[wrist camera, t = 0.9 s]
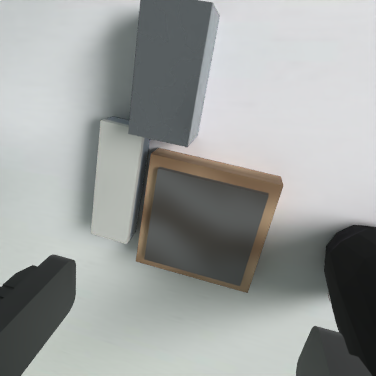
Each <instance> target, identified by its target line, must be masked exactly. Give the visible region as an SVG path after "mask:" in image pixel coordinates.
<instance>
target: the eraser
mask: <svg viewBox="0 0 376 376" xmlns="http://www.w3.org/2000/svg"><path fill="white" fill-rule="evenodd" d="M128 130H129V120H126V119H122V118H118V117H110V118H106V119H103V120H100V132H99V143H98V155H97V166H96V178H95V189H94V201H93V212H92V224H91V234H94V235H97V236H100V237H104V238H107V239H111V240H114V241H117V242H121V243H124V244H127V243H128V242H129V240H130V239H131V237H132V236H133V235H134V233H135V232H136V227H137V220H138V214H139V207H140V201H141V195H142V188H143V182H144V175H145V169H146V162H147V156H148V149H149V143H150V139H149V138H144V137H140V136H135V135H131V134H128Z"/></svg>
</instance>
